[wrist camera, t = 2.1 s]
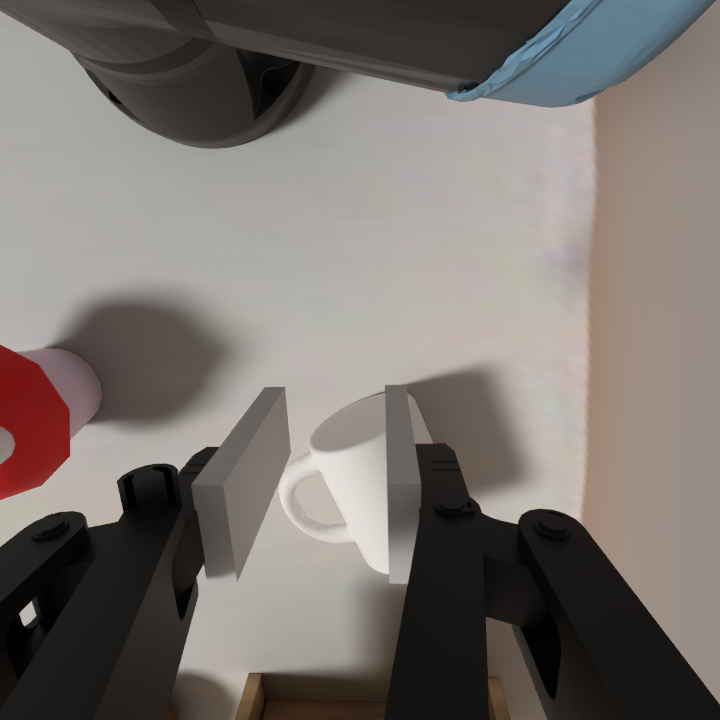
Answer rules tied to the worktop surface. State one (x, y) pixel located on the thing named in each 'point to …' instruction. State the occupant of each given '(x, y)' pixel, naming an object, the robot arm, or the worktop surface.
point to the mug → (351, 476)
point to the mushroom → (41, 413)
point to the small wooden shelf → (336, 706)
